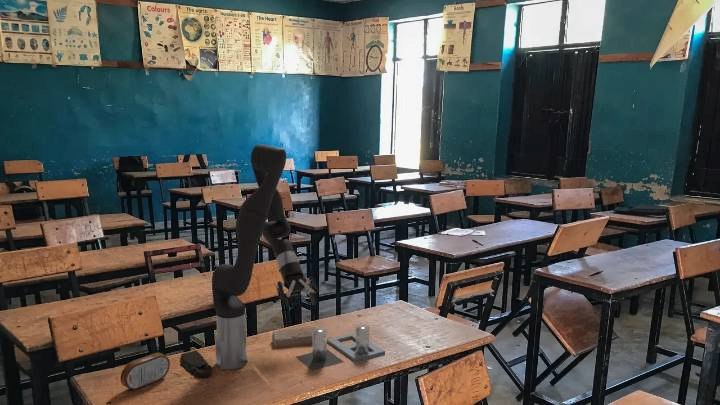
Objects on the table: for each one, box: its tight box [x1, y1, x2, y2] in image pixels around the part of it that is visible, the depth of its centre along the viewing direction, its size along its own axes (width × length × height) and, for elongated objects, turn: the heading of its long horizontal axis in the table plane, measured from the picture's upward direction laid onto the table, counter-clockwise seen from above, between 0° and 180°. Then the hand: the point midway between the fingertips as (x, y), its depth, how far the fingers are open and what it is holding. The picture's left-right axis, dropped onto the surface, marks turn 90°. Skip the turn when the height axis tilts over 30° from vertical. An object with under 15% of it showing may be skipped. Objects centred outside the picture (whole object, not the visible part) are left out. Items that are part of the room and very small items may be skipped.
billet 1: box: [311, 327, 327, 362], centre depth 177 cm, size 5×5×10 cm
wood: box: [180, 349, 213, 379], centre depth 175 cm, size 22×7×3 cm, turn 33°
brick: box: [271, 326, 317, 348], centre depth 193 cm, size 17×8×5 cm, turn 105°
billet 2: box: [355, 324, 370, 355], centre depth 183 cm, size 5×5×10 cm
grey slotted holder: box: [326, 332, 386, 363], centre depth 187 cm, size 12×19×2 cm, turn 32°
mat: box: [295, 348, 345, 372], centre depth 178 cm, size 12×12×1 cm
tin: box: [120, 352, 171, 390], centre depth 162 cm, size 15×3×8 cm, turn 142°
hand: (303, 306), depth 186 cm, fingers open, 8 cm apart
